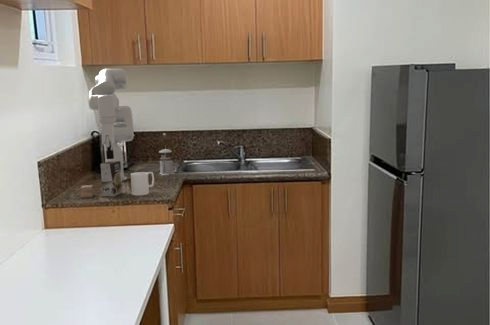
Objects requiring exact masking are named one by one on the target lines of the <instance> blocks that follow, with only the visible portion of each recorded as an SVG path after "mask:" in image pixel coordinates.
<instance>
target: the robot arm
mask: <svg viewBox="0 0 490 325" xmlns="http://www.w3.org/2000/svg"><path fill="white" fill-rule="evenodd" d="M94 82H95V86H93V87H92V88H91V89H90V90H89V91H88V107H89V109H90V110H92V111H94V112H95V111H97V112H98V122H99V125H101V145H102V146H103V148H104V158H105V160H104V161H105V162H109V161H120V163H121V178H122V182H123V181H127V176H125V175H124V174H125V173H124V164H123V163H124V162H123V161H124V160H123V149H122V147H121V146H120V145H119V144H118V143H121V142H131V141H133V139H134V137H135V136H134V121H133V111H132V109H131V107H130V106H129V105H120V101H119V98H118V96H117V95H116V94H115V92H116V91H117V90H126V89H127V88H128V85H129V78H128V73H127V72H126V71H125V69H124V68H104V69H101V70H100V71H99V73H98V75H96V76H95V78H94ZM119 123H122V124H119ZM105 162H104V163H105Z"/></svg>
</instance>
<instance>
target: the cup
mask: <svg viewBox="0 0 490 325" xmlns="http://www.w3.org/2000/svg"><path fill="white" fill-rule="evenodd" d="M150 174H151V178H152V180H151V184H149V175H150ZM130 184H131V186H130V187H131V195H132V196H145V195H149V194H150V188H152V187H154V185H155V176H154V172H153V171H148V172H146V171H139V172H132V173H130Z"/></svg>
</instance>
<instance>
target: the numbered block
mask: <svg viewBox="0 0 490 325" xmlns="http://www.w3.org/2000/svg"><path fill="white" fill-rule="evenodd" d="M93 196H95V195H94V185H93V184H89V185H81V186H80V198H83V199H86V198H93Z"/></svg>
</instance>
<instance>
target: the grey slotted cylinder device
mask: <svg viewBox="0 0 490 325" xmlns="http://www.w3.org/2000/svg"><path fill="white" fill-rule="evenodd" d="M162 135H163V136H164V137H166V136H167V133H165V132H164V133H162ZM158 153H159V154H161V155H160V156H161V157H160V158H159V159H160V160H159V171H160V172H159V173H158V175H159V174H161V175H160V176H170V175H169V174H172V175H175V174H176V173H175V172H174V168H173V167H174V166H173V165H174V164H173V163H174V162H173V159H172V157H171V156H169V157H166V154H169V153H173V151H172V150H171V149H169V148H166V146H164V149H161V150H159V151H158ZM163 154H164V155H163Z"/></svg>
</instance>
